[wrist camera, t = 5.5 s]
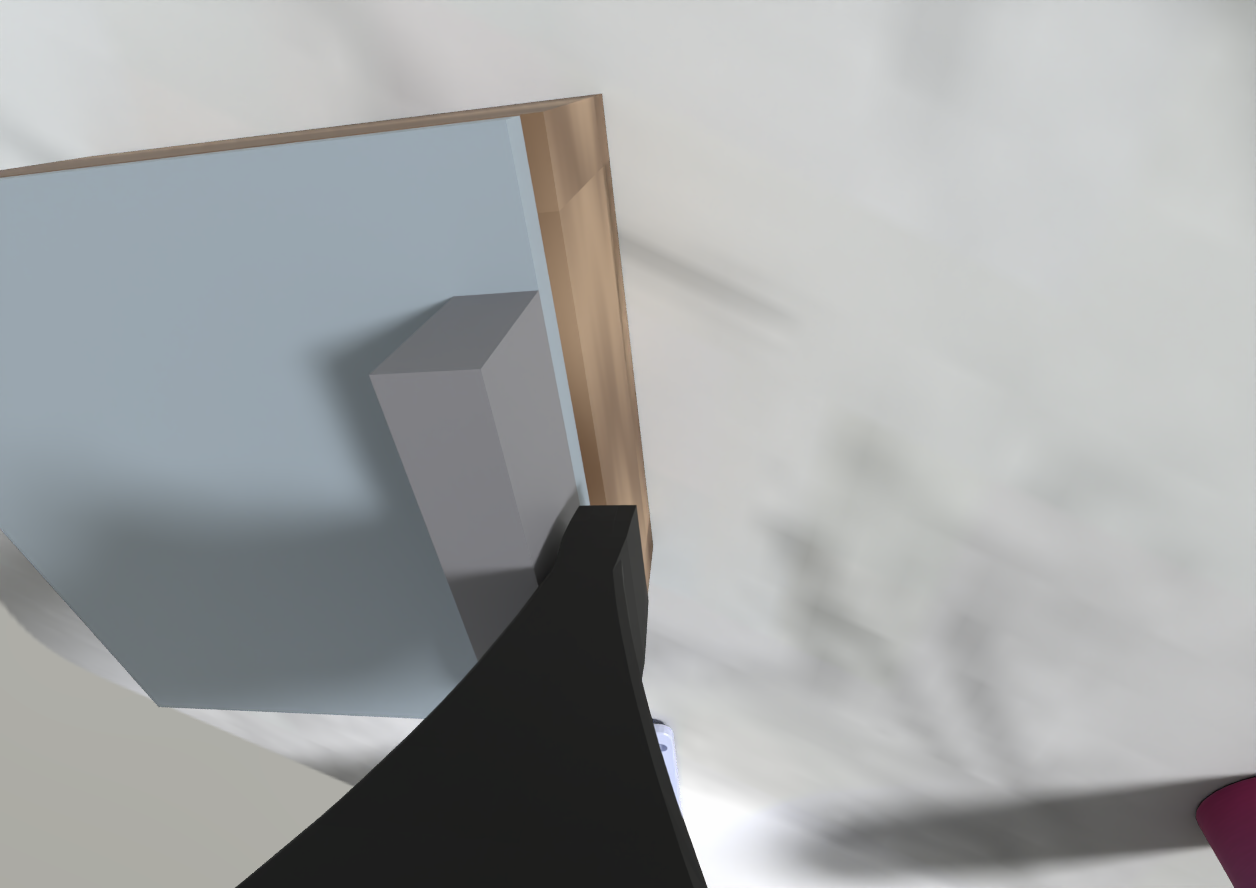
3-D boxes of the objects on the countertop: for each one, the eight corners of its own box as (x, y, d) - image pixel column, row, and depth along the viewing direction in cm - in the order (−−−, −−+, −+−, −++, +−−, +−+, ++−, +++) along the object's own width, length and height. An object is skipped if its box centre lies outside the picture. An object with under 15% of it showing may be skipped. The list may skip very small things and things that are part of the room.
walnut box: (653, 545, 18) (636, 692, 14) (300, 547, 20) (192, 676, 16) (602, 93, 12) (543, 111, 7) (87, 157, 13) (-190, 200, 9)
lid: (626, 702, 14) (607, 847, 11) (176, 685, 15) (73, 806, 13) (520, 116, 7) (420, 143, 5) (-226, 205, 9) (-583, 258, 7)
